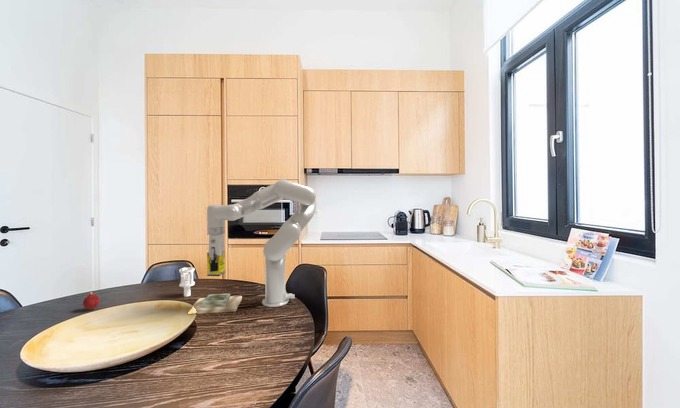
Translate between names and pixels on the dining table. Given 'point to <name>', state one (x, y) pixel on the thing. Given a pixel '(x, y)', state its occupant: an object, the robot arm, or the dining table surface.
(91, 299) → the onion
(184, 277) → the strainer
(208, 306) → the grey flat piece
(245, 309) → the dining table surface
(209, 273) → the supplement box
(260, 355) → the dining table surface
